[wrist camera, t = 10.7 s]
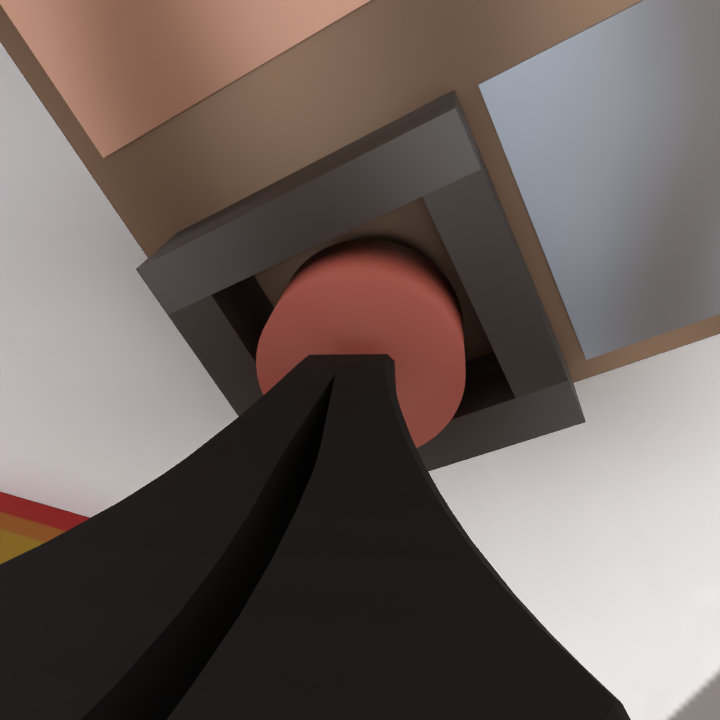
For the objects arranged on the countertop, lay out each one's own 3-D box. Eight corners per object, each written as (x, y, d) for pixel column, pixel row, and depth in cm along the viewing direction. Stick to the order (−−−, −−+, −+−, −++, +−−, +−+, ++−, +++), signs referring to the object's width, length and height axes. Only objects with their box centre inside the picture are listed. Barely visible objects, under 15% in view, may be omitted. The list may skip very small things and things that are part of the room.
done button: (333, 425, 14) (319, 480, 12) (244, 284, 12) (216, 327, 11) (491, 369, 13) (497, 422, 11) (415, 206, 11) (410, 241, 10)
